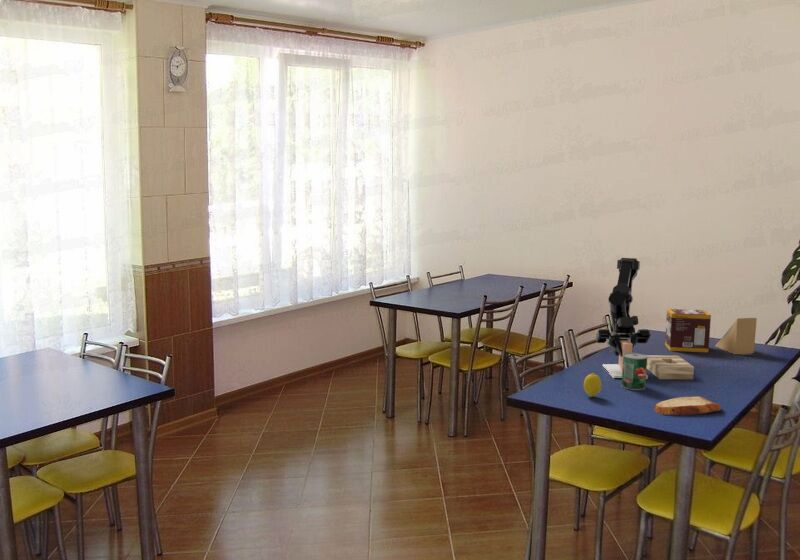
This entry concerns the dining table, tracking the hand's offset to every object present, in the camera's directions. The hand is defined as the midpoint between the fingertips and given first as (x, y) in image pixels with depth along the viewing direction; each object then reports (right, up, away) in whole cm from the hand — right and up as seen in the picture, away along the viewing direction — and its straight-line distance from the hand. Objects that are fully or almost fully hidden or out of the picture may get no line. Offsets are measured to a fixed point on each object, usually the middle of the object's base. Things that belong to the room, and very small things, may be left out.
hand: (626, 356), depth 282 cm
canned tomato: (-2, -9, -15) cm, 18 cm away
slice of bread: (+8, -13, -40) cm, 42 cm away
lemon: (-19, -11, -27) cm, 35 cm away
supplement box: (+36, -1, +40) cm, 54 cm away
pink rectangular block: (0, -4, +2) cm, 5 cm away
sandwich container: (+55, -1, +39) cm, 67 cm away
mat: (0, -6, +2) cm, 7 cm away
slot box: (+16, -6, +2) cm, 17 cm away
